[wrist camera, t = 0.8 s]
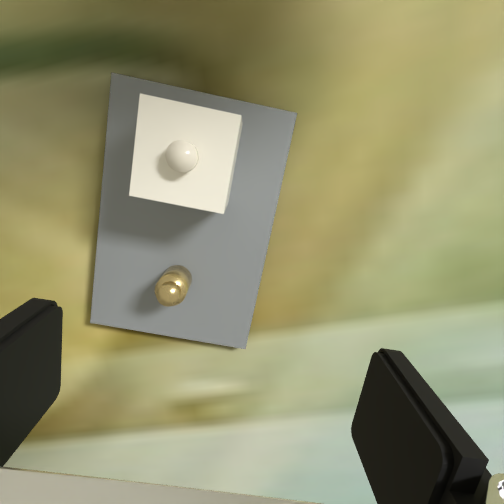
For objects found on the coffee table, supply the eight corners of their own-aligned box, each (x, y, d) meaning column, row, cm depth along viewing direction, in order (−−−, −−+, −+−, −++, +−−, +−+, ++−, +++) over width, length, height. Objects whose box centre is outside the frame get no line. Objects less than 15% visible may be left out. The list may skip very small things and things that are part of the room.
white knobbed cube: (162, 106, 28) (134, 90, 21) (242, 123, 28) (241, 113, 21) (152, 188, 29) (124, 197, 23) (228, 203, 30) (222, 216, 23)
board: (117, 75, 28) (111, 72, 27) (295, 114, 29) (297, 113, 28) (95, 317, 34) (90, 322, 33) (245, 342, 35) (245, 349, 34)
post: (165, 262, 31) (153, 278, 27) (193, 267, 31) (186, 284, 27) (161, 288, 32) (149, 308, 28) (189, 293, 32) (181, 313, 28)
